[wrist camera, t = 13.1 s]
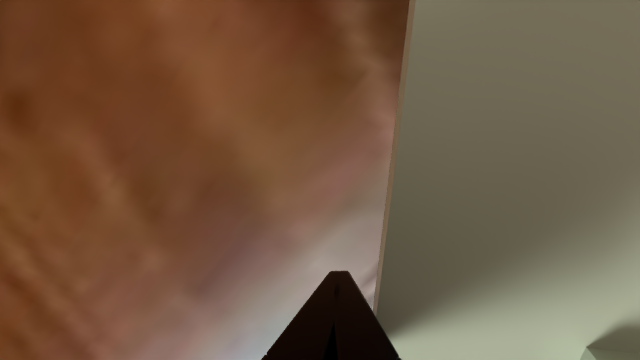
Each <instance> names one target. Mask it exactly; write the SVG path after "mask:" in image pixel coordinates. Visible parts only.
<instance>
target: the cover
mask: <svg viewBox="0 0 640 360" xmlns="http://www.w3.org/2000/svg"><path fill="white" fill-rule="evenodd" d="M373 313H374V315H375V316H376V318H377V320H378V321H379V323H380V325H381V326H382V328H383V330H384V331H385V333H386V335H387V336H388V338H389V340H390V341H391V343H392V345H393V346H394V348H395V350H396V351H397V353H398V355H399V358H401V359H402V360H640V0H410V2H409V10H408V19H407V27H406V36H405V44H404V53H403V61H402V69H401V78H400V86H399V95H398V103H397V111H396V120H395V128H394V137H393V145H392V153H391V162H390V170H389V179H388V187H387V195H386V204H385V212H384V221H383V229H382V238H381V246H380V254H379V263H378V271H377V280H376V288H375V296H374V305H373Z"/></svg>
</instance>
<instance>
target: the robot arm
mask: <svg viewBox="0 0 640 360" xmlns="http://www.w3.org/2000/svg"><path fill="white" fill-rule="evenodd" d="M261 360H402V359H401V358H399V355H398V353H397V351H396V350H395V348H394V346H393V345H392V343H391V341H390V340H389V338H388V336H387V335H386V333H385V331H384V330H383V328H382V326H381V325H380V323H379V321H378V320H377V318H376V316H375V315H374V313H373V311H372V310H371V308H370V306H369V304H368V303H367V301H366V299H365V298H364V296H363V294H362V293H361V291H360V289H359V288H358V286H357V284H356V283H355V281H354V279H353V278H352V276H351V274H350V273H349V272H348V271H331V272H329V273H328V275H327V276H326V277H325V278H324V280H323V281H322V282H321V284H320V285H319V286H318V287H317V289H316V290H315V291H314V293H313V294H312V295H311V296H310V298H309V299H308V300H307V302H306V303H305V304H304V305H303V307H302V308H301V309H300V311H299V312H298V313H297V314H296V316H295V317H294V318H293V320H292V321H291V322H290V323H289V325H288V326H287V327H286V329H285V330H284V331H283V332H282V334H281V335H280V336H279V338H278V339H277V340H276V341H275V343H274V344H273V345H272V347H271V348H270V349H269V351H268V352H267V355H264V357H263V358H262V359H261Z"/></svg>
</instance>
